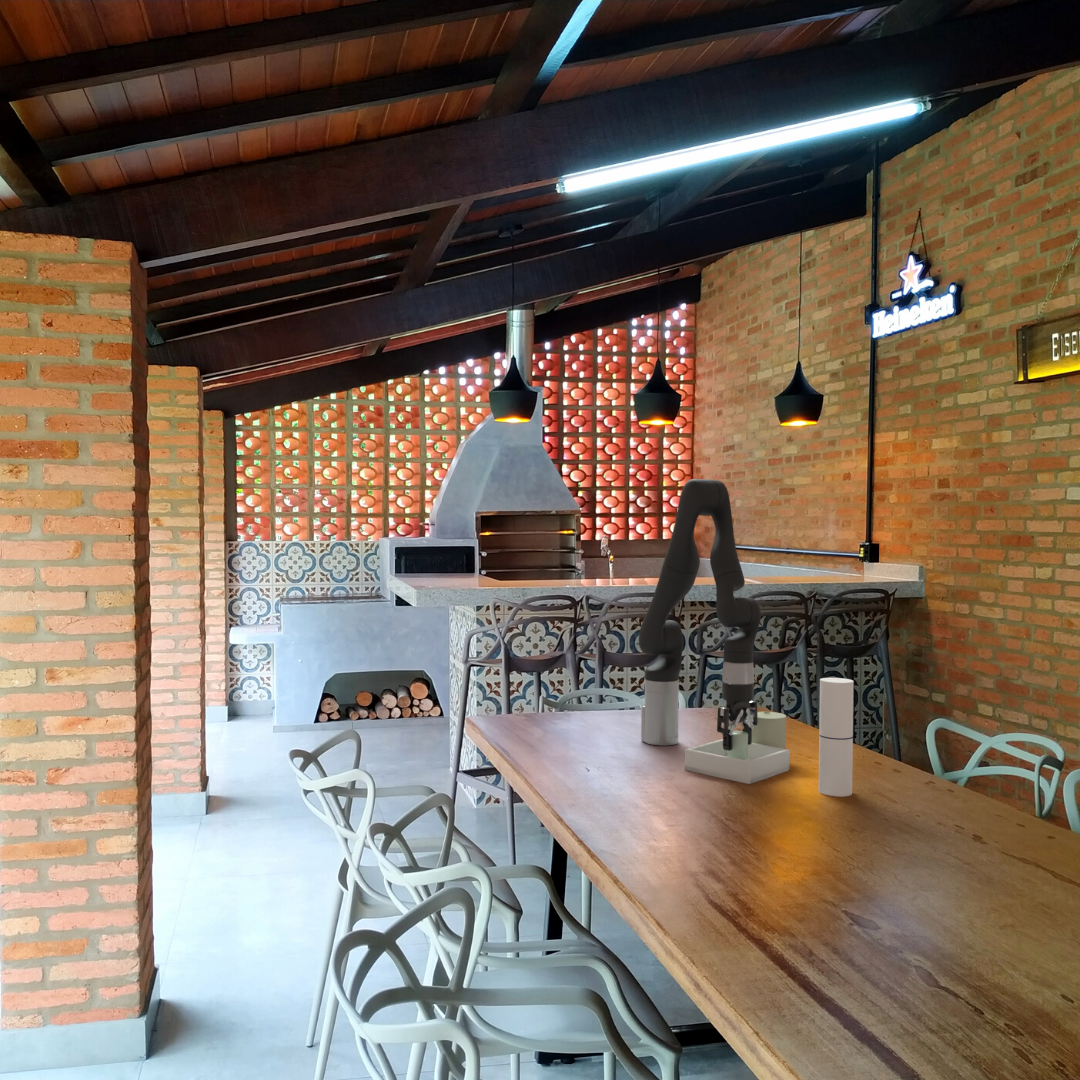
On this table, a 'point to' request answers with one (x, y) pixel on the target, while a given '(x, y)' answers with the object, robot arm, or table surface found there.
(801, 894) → the table surface
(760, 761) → the grey tub
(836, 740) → the cylindrical container
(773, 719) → the can
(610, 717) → the table surface
